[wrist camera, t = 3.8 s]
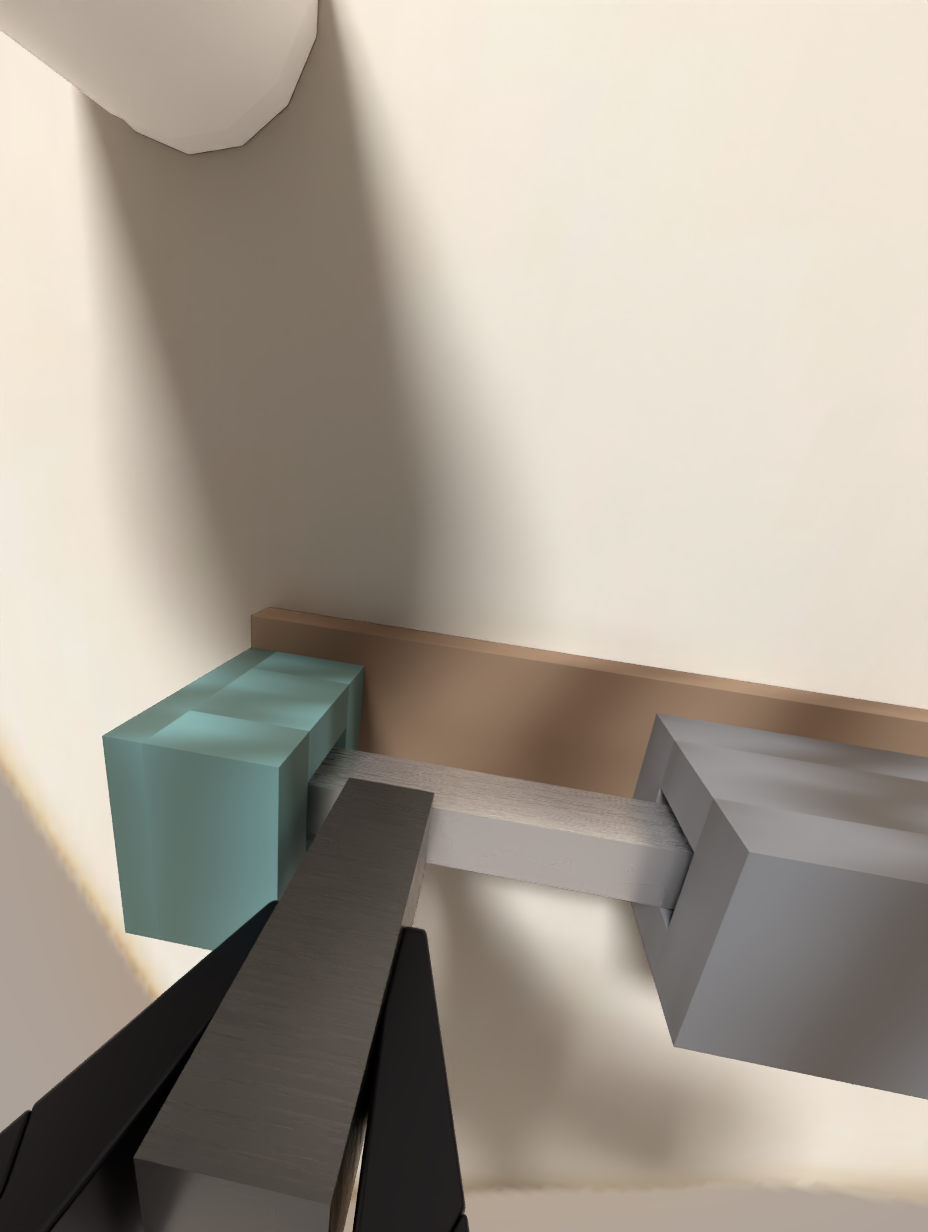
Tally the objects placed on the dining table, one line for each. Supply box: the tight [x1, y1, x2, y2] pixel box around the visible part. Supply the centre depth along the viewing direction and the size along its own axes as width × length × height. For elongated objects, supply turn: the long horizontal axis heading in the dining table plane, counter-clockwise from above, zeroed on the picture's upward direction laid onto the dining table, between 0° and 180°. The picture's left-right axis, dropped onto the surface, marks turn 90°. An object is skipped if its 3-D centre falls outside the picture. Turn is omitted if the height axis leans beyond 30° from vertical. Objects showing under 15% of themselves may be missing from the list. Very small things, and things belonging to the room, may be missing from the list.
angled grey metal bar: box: [133, 747, 694, 1232], centre depth 8 cm, size 13×2×8 cm, turn 82°
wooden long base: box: [102, 607, 928, 1099], centre depth 11 cm, size 20×7×6 cm, turn 82°
